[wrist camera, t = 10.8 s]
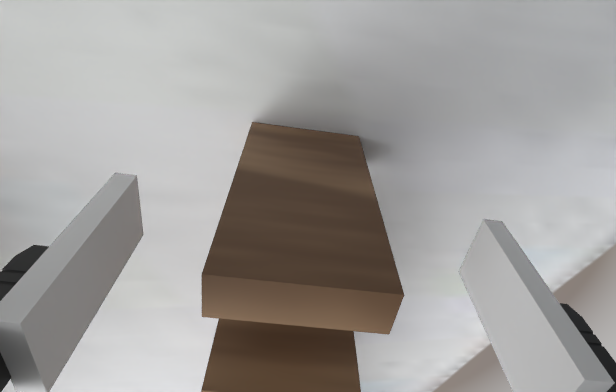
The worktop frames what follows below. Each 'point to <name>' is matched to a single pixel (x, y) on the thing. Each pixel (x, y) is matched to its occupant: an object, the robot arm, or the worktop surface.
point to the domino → (281, 359)
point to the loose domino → (302, 237)
